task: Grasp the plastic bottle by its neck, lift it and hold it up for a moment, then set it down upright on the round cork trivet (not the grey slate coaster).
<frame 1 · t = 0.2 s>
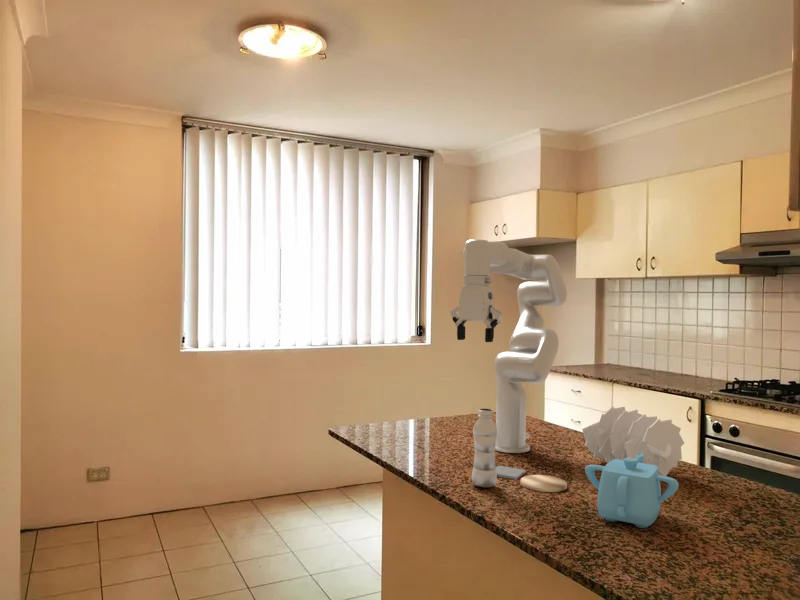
hand: (474, 340, 176), 36 cm above the table, tool pointing down, fingers open, 9 cm apart
plastic bottle: (483, 487, 158), on the table
slate coaster: (507, 473, 169), on the table
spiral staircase: (631, 471, 175), on the table
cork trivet: (543, 484, 160), on the table
teapot: (630, 516, 139), on the table
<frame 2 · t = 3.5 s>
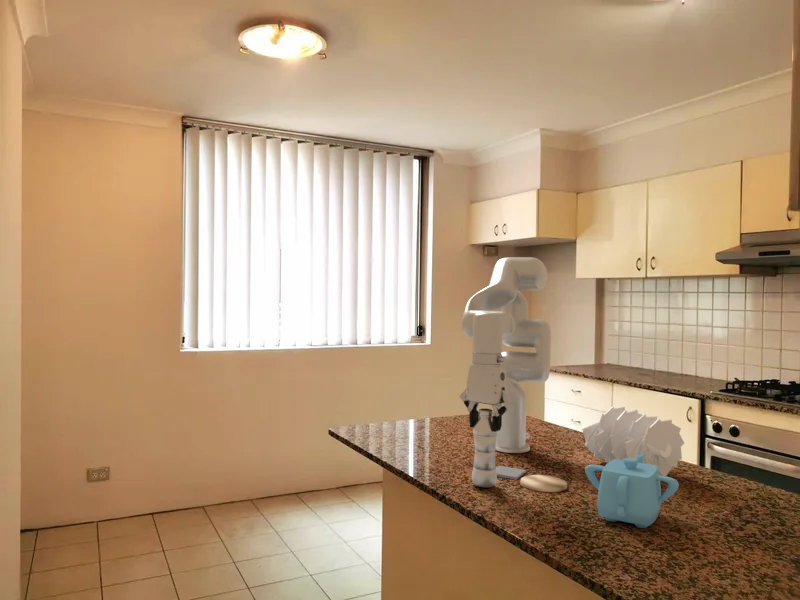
hand: (485, 428, 157), 15 cm above the table, tool pointing down, fingers closed on plastic bottle, 6 cm apart
plastic bottle: (483, 486, 158), on the table, touching gripper
everything else where it was.
when the fingers open (17 cm above the table, at t = 10.3 s): plastic bottle stays where it is, resting on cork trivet.
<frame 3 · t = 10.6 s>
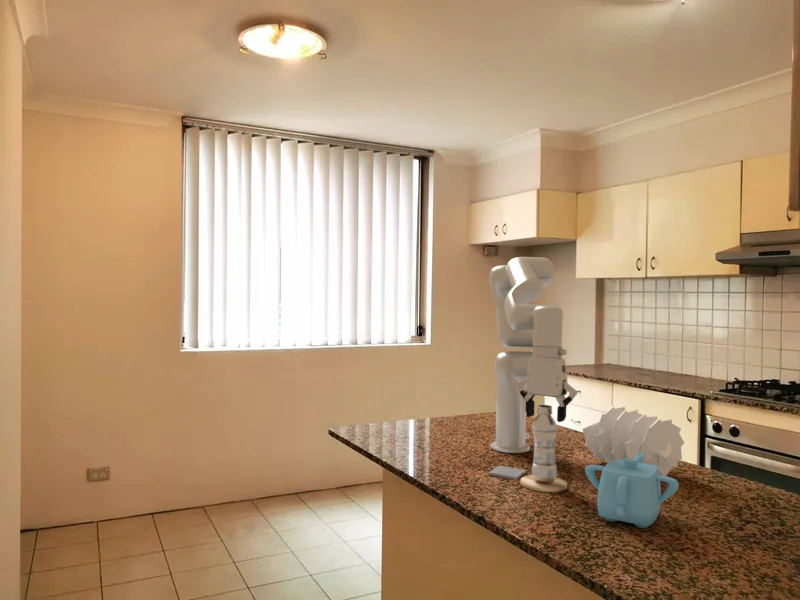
hand: (545, 418, 160), 18 cm above the table, tool pointing down, fingers open, 8 cm apart
plastic bottle: (544, 482, 160), point 1 cm above the table, touching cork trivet
everything else where it was.
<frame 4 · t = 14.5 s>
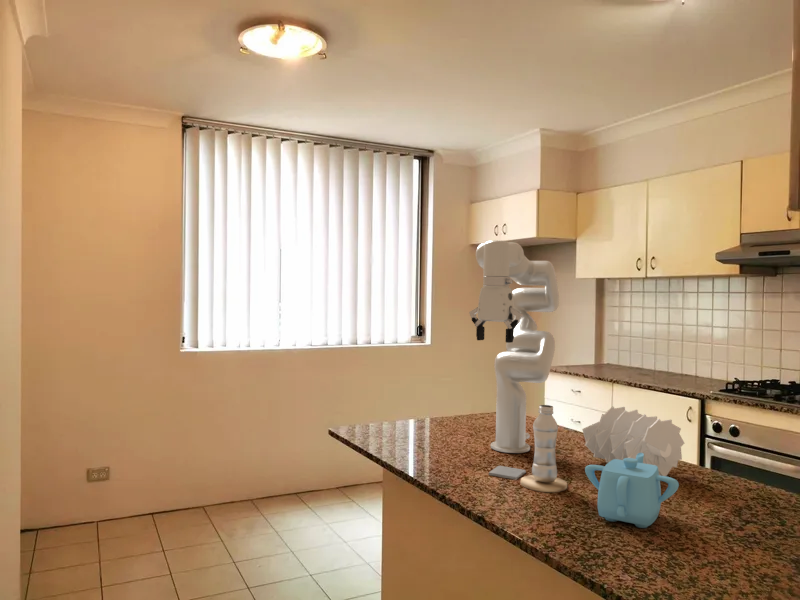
hand: (494, 341, 178), 36 cm above the table, tool pointing down, fingers open, 9 cm apart
nothing on the table moved.
at the end: plastic bottle 0.2 cm from the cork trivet (horizontally); plastic bottle tilted 0°; the gripper is holding nothing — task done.
